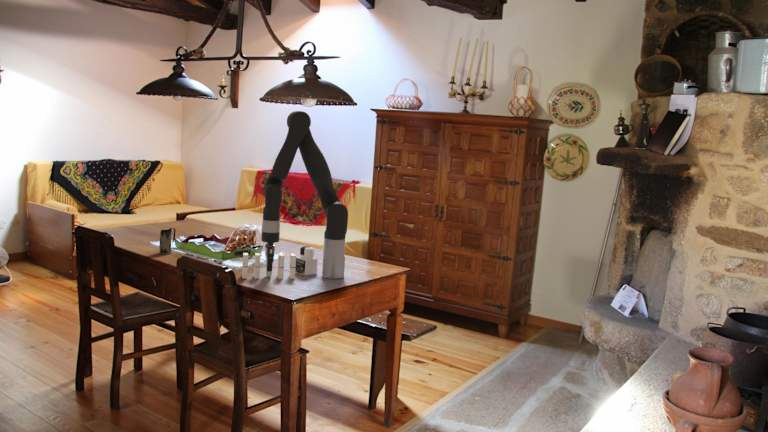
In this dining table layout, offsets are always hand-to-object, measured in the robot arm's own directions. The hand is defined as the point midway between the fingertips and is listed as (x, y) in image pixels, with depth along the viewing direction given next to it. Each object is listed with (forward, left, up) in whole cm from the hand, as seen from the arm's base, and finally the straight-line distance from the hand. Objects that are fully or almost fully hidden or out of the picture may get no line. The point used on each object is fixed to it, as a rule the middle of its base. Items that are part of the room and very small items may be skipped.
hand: (269, 269), depth 274 cm
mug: (+45, -48, -4) cm, 66 cm away
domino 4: (-5, 0, -3) cm, 6 cm away
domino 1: (+10, 0, -3) cm, 11 cm away
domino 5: (-10, 0, -3) cm, 11 cm away
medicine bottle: (-17, -8, -4) cm, 19 cm away
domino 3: (0, 0, -2) cm, 2 cm away
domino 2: (+5, 0, -3) cm, 6 cm away
